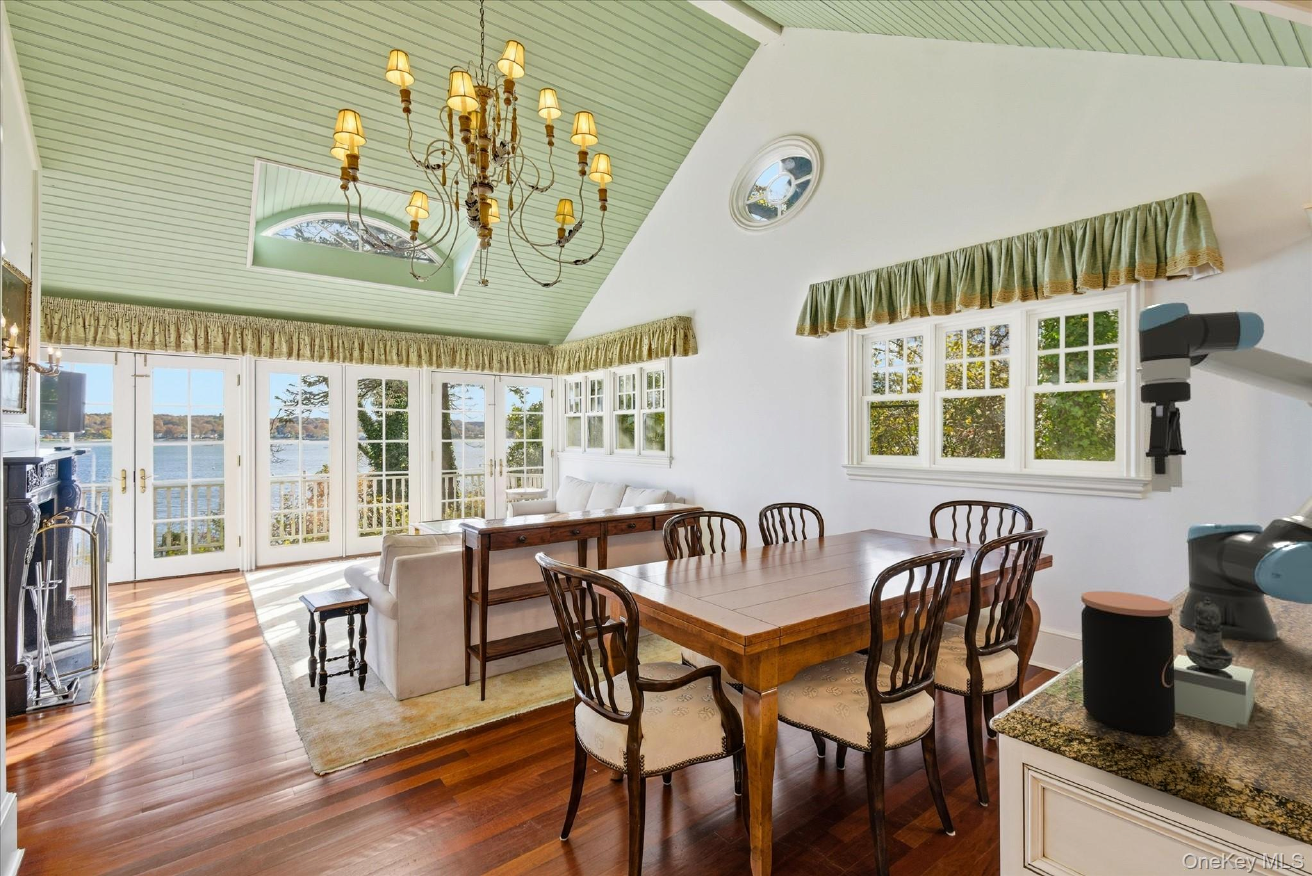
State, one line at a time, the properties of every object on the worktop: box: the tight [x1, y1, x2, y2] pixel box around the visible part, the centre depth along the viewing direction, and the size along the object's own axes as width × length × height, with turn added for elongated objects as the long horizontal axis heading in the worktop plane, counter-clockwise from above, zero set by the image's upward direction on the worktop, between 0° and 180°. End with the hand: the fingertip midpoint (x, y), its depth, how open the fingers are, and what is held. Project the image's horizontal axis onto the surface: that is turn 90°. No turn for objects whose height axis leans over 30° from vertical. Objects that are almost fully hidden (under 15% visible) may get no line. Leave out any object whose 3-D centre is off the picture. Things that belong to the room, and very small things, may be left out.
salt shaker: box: [1182, 597, 1236, 679], centre depth 91 cm, size 6×6×12 cm
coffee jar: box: [1080, 590, 1176, 738], centre depth 87 cm, size 11×11×18 cm
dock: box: [1174, 654, 1256, 732], centre depth 91 cm, size 14×9×7 cm, turn 131°
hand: (1167, 489), depth 116 cm, fingers open, 13 cm apart
